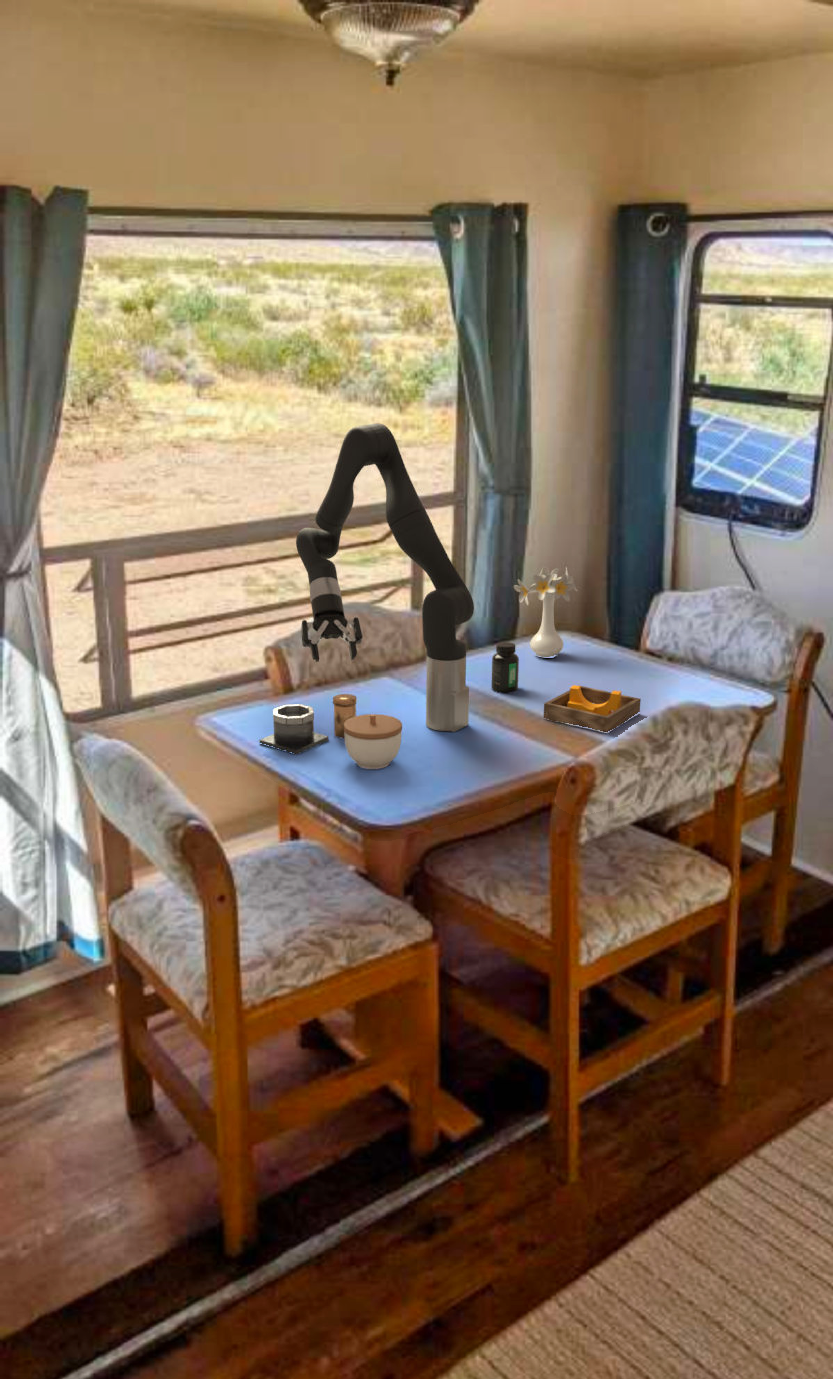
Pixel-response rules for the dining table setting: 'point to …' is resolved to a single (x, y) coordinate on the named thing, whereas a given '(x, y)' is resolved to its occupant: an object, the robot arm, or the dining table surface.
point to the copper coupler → (343, 711)
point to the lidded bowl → (372, 739)
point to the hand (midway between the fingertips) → (335, 659)
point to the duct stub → (294, 729)
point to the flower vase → (547, 608)
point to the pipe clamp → (582, 704)
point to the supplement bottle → (505, 668)
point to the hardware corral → (562, 713)
